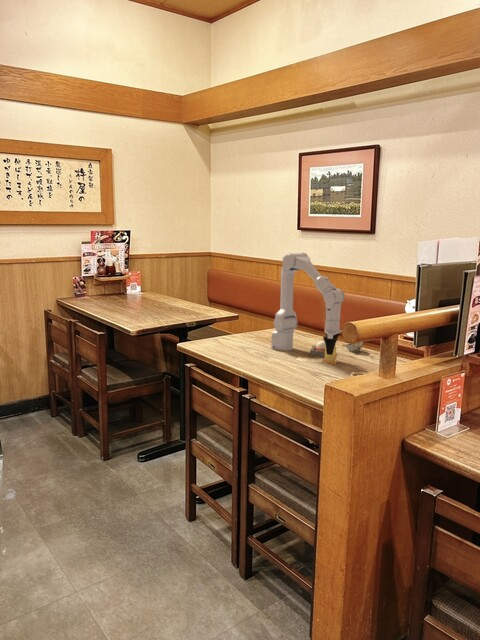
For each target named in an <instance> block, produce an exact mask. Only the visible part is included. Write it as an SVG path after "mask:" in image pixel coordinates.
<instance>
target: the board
mask: <svg viewBox="0 0 480 640" xmlns="http://www.w3.org/2000/svg"><path fill="white" fill-rule="evenodd" d="M296 361H301V362H311V363H323V364H327V363H326V362H324V359H323V358H310V357H299V356H298V357H297V358H296ZM329 364H331V365H332V364H334V365H336V364H337V360H335V363H329Z"/></svg>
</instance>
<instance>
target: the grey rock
mask: <svg viewBox="0 0 480 640" xmlns="http://www.w3.org/2000/svg"><path fill="white" fill-rule="evenodd" d="M365 344H366V342H363V341H362V342H360V343H355V344H348V343H346V342H345V344H343V345H342V346H343V347H346V348H347V350H348V351H349V352H350V353H357V352H361V349H362V347H363V345H365Z"/></svg>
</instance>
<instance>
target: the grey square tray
mask: <svg viewBox="0 0 480 640" xmlns="http://www.w3.org/2000/svg"><path fill="white" fill-rule="evenodd" d="M309 356H310V357H318V358H319V357H320V358H325V351H317V350H316V345H312V347H311V349H310V351H309Z"/></svg>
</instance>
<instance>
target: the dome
mask: <svg viewBox="0 0 480 640" xmlns="http://www.w3.org/2000/svg"><path fill="white" fill-rule="evenodd" d="M315 346H316V350H317V351H325V346H326V345H325V342H324V340H319V341H318V342H317V343H316V344H315Z"/></svg>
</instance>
